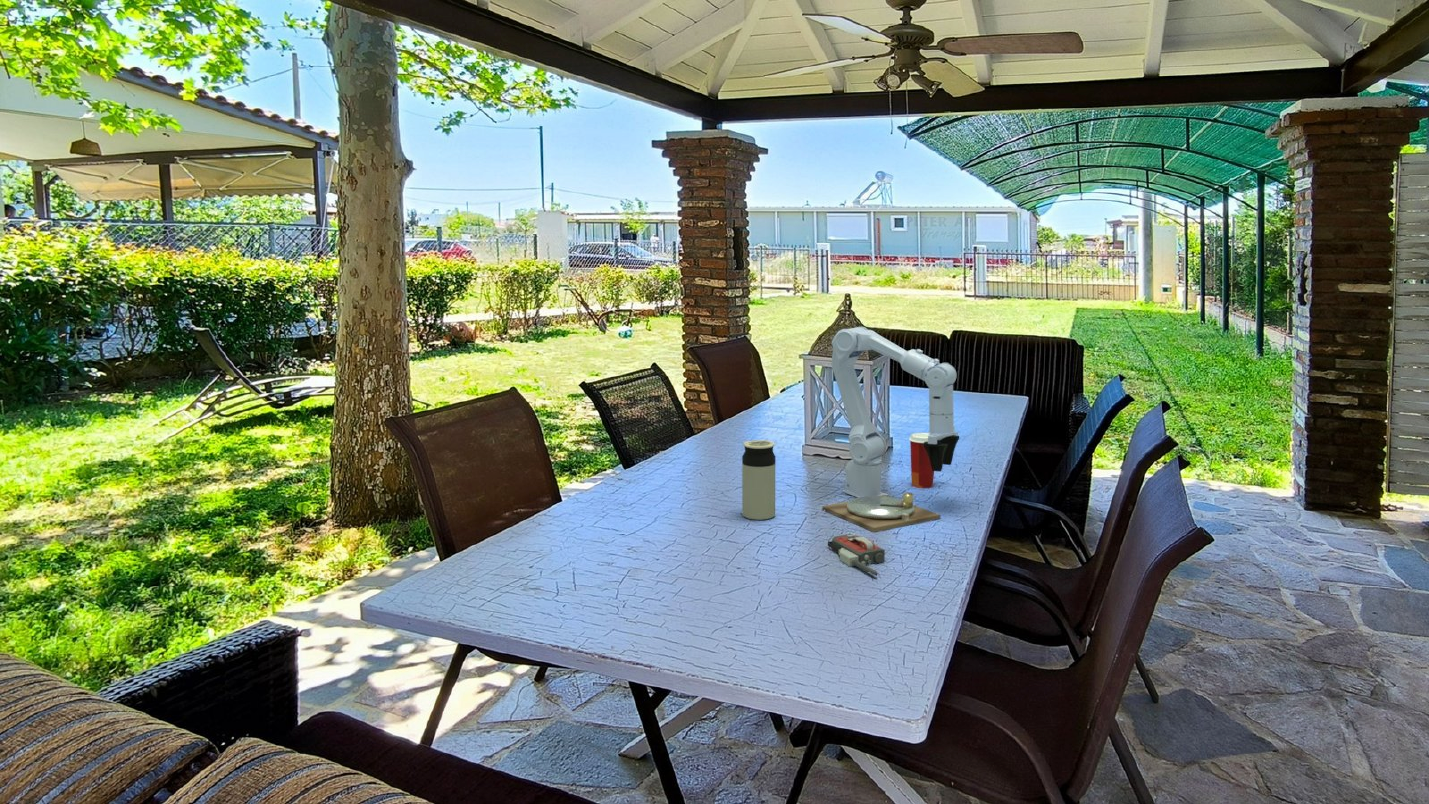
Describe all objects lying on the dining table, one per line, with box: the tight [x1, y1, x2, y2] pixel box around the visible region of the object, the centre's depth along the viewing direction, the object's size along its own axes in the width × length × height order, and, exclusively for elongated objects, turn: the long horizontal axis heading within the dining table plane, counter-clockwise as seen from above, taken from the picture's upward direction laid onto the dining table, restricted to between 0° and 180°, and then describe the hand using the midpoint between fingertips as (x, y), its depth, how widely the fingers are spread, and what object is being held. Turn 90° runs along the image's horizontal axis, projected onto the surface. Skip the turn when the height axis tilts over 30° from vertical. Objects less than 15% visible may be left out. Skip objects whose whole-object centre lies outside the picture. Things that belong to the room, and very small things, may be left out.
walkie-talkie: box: [827, 533, 886, 576], centre depth 180 cm, size 9×4×20 cm
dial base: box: [821, 495, 941, 533], centre depth 211 cm, size 20×20×2 cm
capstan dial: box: [847, 492, 914, 519], centre depth 211 cm, size 16×16×4 cm
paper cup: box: [908, 432, 935, 489], centre depth 236 cm, size 8×8×14 cm
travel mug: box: [741, 439, 776, 521], centre depth 210 cm, size 8×8×18 cm
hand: (941, 467), depth 215 cm, fingers open, 7 cm apart
